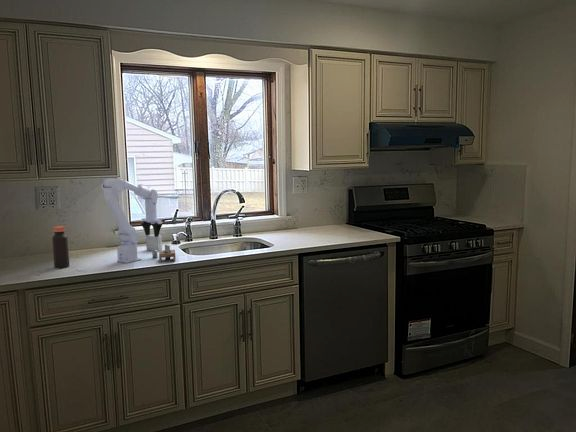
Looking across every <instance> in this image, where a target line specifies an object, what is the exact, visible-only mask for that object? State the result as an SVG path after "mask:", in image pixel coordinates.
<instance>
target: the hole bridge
mask: <svg viewBox="0 0 576 432" xmlns="http://www.w3.org/2000/svg"><path fill="white" fill-rule="evenodd" d="M165 257H170V258H173V262H174V261H176V249H170V252H167V253H165V249H164V250H163V249H162V250H159V252H158V258H159V260H158V261H159V262H161V263H162V261H163V260H162V259H163V258H165Z"/></svg>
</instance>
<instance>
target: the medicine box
mask: <svg viewBox="0 0 576 432" xmlns="http://www.w3.org/2000/svg"><path fill="white" fill-rule="evenodd" d="M145 242H146V245H145V246H146V247H145V248H146V251H153V250H157V252H158V251H160V250H163V238H162V234H159V236H158V237H155V236H154V234H150V235H147V236H146V235H145Z"/></svg>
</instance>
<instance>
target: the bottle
mask: <svg viewBox="0 0 576 432" xmlns="http://www.w3.org/2000/svg"><path fill="white" fill-rule="evenodd" d="M65 229H66V226H65V225H63V226H62V225H59V226H53V233H54V235H53V236H52V237H51V241H52V243H51V244H52V254H53V267H54V269H64V268H65V269H66V268H69V267H70V256H69V240H68V236H67V234H65V231H66V230H65Z"/></svg>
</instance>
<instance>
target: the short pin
mask: <svg viewBox="0 0 576 432" xmlns="http://www.w3.org/2000/svg"><path fill="white" fill-rule="evenodd" d="M151 253H152V254H151V255H152V259H155V260H156V259H158V258H159V254H158V251H157V250H151Z"/></svg>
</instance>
